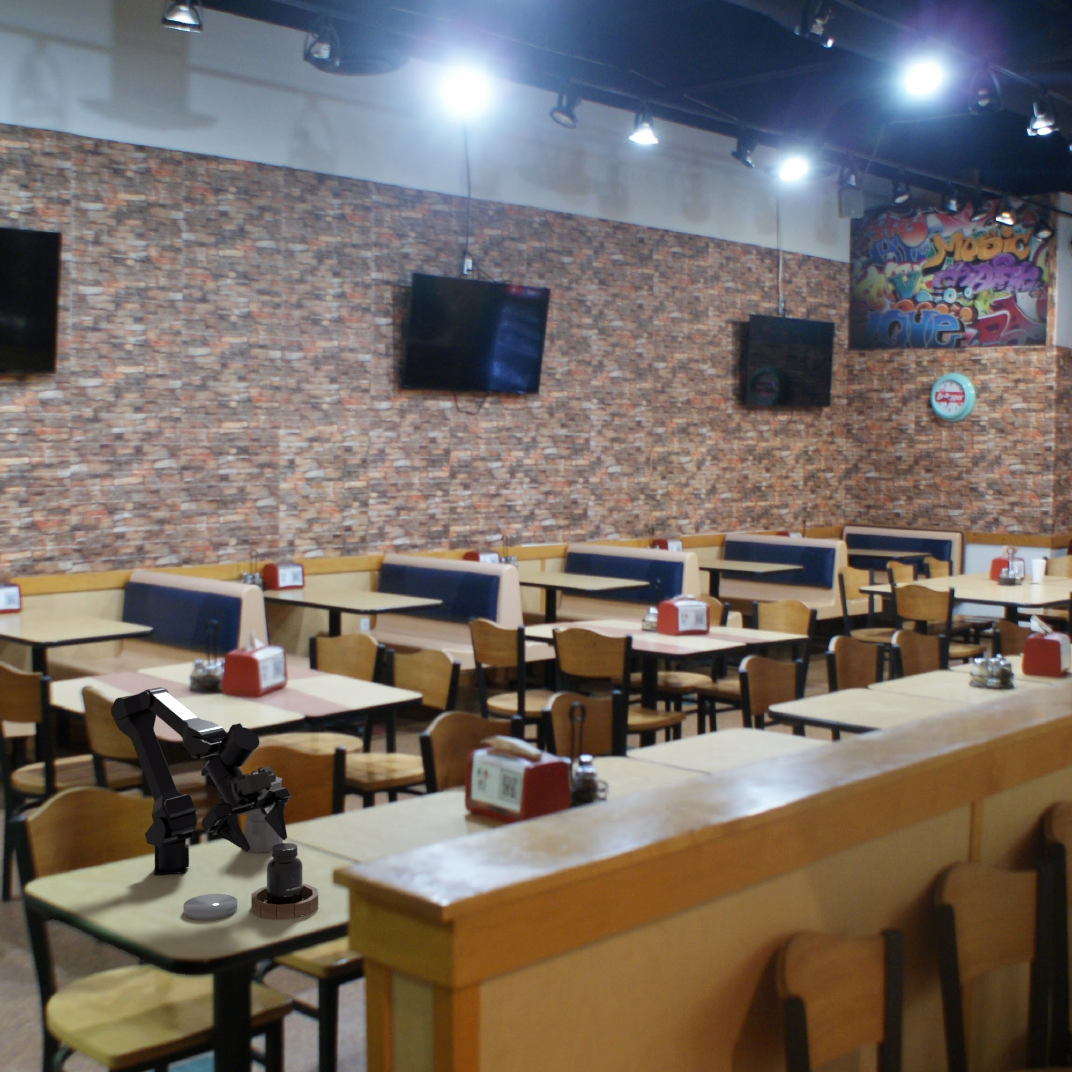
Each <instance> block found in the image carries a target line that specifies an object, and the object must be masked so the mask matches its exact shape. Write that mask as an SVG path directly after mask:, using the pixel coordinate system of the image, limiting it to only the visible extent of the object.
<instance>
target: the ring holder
mask: <svg viewBox="0 0 1072 1072" xmlns="http://www.w3.org/2000/svg"><path fill="white" fill-rule="evenodd" d="M250 895H251V904H250V905H251V914H253V915H255V916H257V917H259V918H262V919H269V920H270V919H271V920H288V919H290V918H291V919H297V918H300V916H301V915H304V916H307V915H306V914H308V915H310V914H312V913H313V912H314V911H316V910H317V909H319V892H318V888H317V887H315V886H312V885H309V884H308V883H307V884H306V883H303V886H302V899H303V900H302V901H300V902H297V903H293V904H280V905H277V904H269V903H267V885H266V886H263V887H260V888H258V889H257V890H255V891H253V892H252V893H251V894H250ZM304 899H305V900H304ZM311 912H312V913H311ZM309 913H310V914H309ZM301 917H302V916H301Z"/></svg>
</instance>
